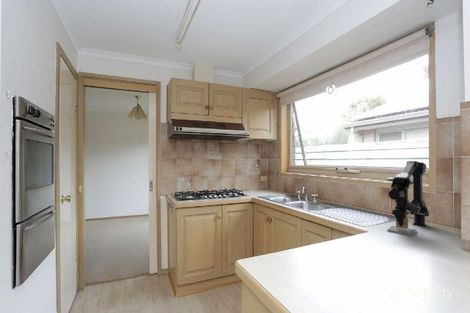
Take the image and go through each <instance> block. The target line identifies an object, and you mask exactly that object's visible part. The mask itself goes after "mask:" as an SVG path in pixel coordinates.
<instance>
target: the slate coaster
mask: <svg viewBox="0 0 470 313" xmlns="http://www.w3.org/2000/svg"><path fill="white" fill-rule="evenodd" d="M417 231H418V229H416V228H409V227H408V228H407V229H404V228H398V227H396V225H391V226H390V227H388V229H387V232H389V233H395V234H400V235H406V236H412V237H414V236H415V235H416V233H417Z"/></svg>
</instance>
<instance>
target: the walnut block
mask: <svg viewBox="0 0 470 313" xmlns="http://www.w3.org/2000/svg"><path fill="white" fill-rule="evenodd" d="M395 226H396V227H398V228H404V229H407V228H409V218H408V217H406V218H404V221H403V225H402V226H400V225H399V223H398V221H397V219H396V218H395Z"/></svg>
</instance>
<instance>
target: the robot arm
mask: <svg viewBox="0 0 470 313" xmlns="http://www.w3.org/2000/svg"><path fill="white" fill-rule="evenodd" d="M426 170H427V164H426V163H424V162H420V161H416V160H408V161H406V165H405V166H404V168H403V169H402V171H401V172H400V173H398V174H396V175H395V176H394V178H393V179H392V182H391V185H390V188H391V190H389V191H388V197H389V198H390V199H391V200H394V202H395V206H394V209H392V211H391V214H392V215H393V216H394V217H395V220H396V219H397V221H398V223H399V225H400V226H402V225H403V221H404V218H407V217H408V215H413V223H412V225H415V226H420V227H426V226H427V223H426V217H430V211H429V209H428V207H427V203H426V202H425V200H424V198H423V196H424V195H423V176H424V175H425V173H426ZM411 177H412V180H411ZM412 183H413V184H412ZM411 184H412V188H413V189H412V190H413V191H412V194H413V195H412V196H413V197H412V198H413V199H412V200H411V201H410V200H409V191H408V190H409V188H410V186H411Z"/></svg>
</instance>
